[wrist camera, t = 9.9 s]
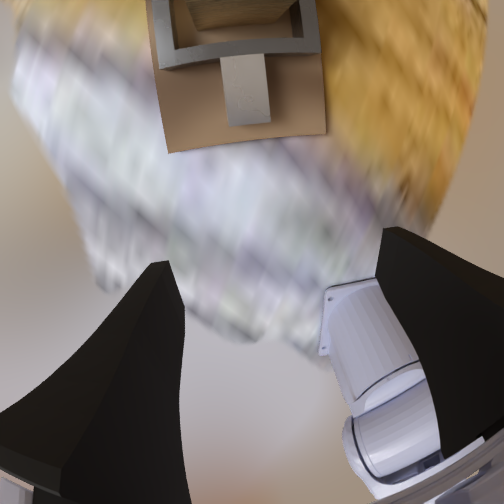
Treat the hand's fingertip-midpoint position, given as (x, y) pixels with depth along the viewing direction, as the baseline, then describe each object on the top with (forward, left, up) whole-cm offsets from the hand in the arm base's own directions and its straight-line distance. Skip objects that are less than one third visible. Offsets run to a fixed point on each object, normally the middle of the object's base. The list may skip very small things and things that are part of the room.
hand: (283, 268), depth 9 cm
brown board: (+12, 0, -9) cm, 15 cm away
